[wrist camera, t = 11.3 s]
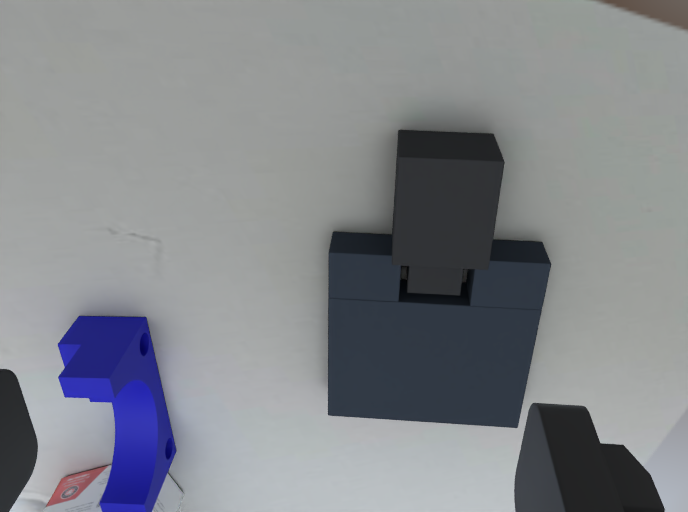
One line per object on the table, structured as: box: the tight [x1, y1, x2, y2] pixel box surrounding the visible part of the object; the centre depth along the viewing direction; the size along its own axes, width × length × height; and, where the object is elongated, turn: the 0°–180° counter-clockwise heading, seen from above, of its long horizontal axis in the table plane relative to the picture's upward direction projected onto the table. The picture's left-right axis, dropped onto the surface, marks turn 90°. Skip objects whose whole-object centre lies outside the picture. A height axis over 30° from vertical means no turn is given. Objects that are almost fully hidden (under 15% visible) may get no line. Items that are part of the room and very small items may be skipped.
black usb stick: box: [392, 130, 504, 295], centre depth 34 cm, size 9×5×4 cm, turn 179°
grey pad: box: [328, 232, 551, 428], centre depth 39 cm, size 12×12×2 cm
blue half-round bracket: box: [58, 316, 176, 512], centre depth 42 cm, size 12×4×6 cm, turn 2°
